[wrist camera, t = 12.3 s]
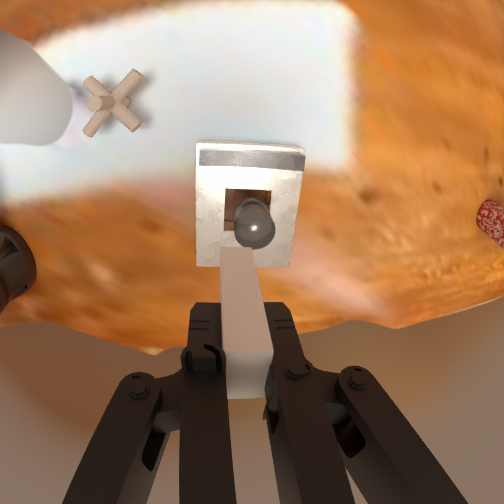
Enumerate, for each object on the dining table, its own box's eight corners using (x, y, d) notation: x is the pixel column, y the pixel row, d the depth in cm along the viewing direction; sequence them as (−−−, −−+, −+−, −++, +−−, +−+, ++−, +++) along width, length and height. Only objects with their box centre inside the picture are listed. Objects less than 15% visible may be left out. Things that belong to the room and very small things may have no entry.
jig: (198, 254, 45) (195, 273, 40) (199, 140, 36) (195, 145, 31) (284, 256, 46) (291, 274, 42) (298, 146, 38) (309, 152, 33)
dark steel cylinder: (231, 217, 42) (233, 249, 34) (232, 186, 40) (235, 211, 31) (262, 218, 43) (273, 250, 34) (265, 187, 40) (277, 212, 32)
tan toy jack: (172, 98, 33) (155, 96, 24) (125, 149, 35) (97, 164, 27) (126, 56, 28) (97, 44, 20) (81, 109, 31) (45, 114, 22)
